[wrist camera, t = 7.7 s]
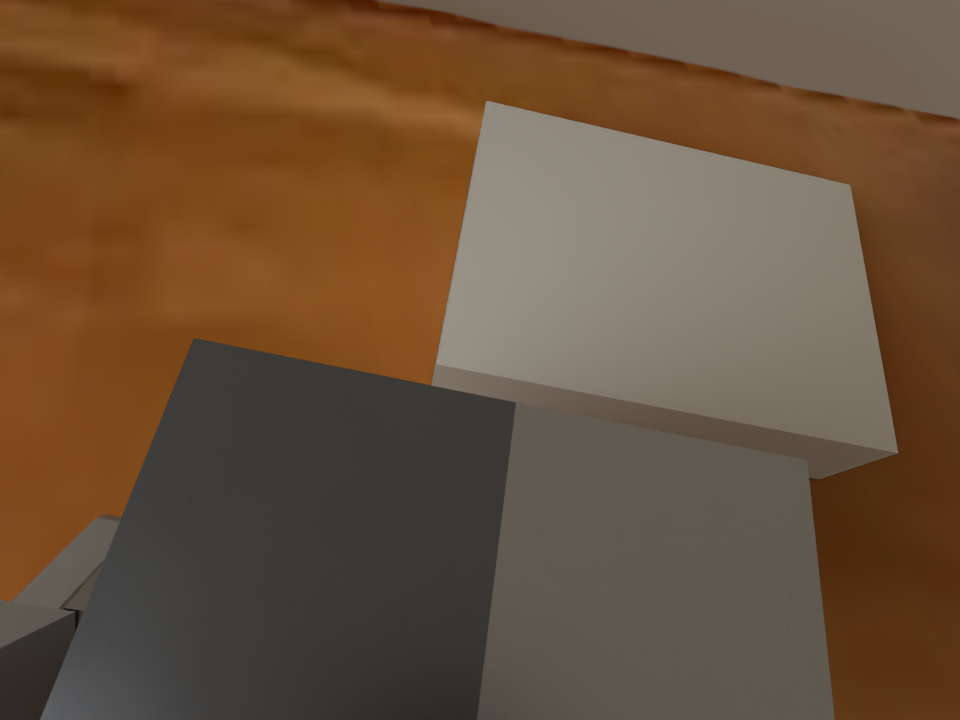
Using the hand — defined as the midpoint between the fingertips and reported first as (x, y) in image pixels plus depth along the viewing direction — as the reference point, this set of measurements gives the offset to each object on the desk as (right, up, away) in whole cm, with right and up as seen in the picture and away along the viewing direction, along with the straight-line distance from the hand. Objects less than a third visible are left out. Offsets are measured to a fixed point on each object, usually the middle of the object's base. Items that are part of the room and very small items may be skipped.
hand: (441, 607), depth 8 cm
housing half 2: (-2, -2, +4) cm, 5 cm away
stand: (+7, +6, +17) cm, 19 cm away
